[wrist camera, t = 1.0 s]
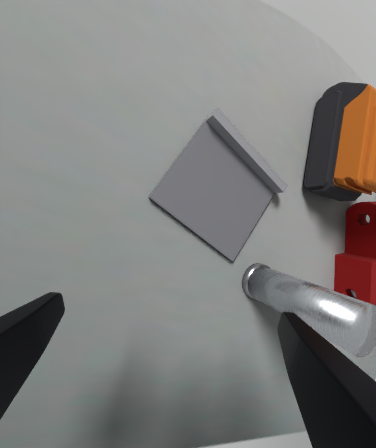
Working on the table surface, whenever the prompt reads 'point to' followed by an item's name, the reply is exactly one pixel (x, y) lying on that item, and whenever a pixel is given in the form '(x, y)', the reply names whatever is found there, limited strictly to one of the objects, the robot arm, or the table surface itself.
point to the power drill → (343, 143)
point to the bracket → (218, 185)
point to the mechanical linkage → (358, 254)
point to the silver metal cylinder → (316, 307)
